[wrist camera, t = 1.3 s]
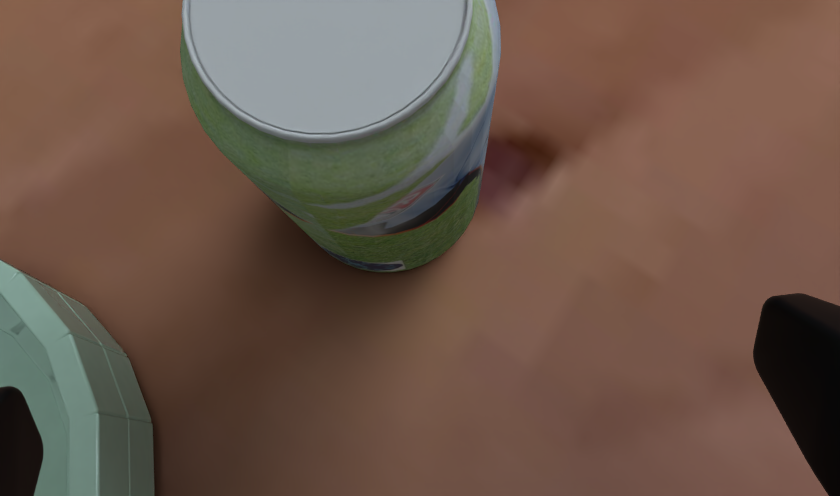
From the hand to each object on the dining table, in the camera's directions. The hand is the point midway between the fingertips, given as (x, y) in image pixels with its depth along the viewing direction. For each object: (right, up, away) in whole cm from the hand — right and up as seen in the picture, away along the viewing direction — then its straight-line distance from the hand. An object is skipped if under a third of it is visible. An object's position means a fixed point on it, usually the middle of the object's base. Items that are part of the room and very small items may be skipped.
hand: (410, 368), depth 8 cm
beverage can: (-1, +3, +15) cm, 15 cm away
